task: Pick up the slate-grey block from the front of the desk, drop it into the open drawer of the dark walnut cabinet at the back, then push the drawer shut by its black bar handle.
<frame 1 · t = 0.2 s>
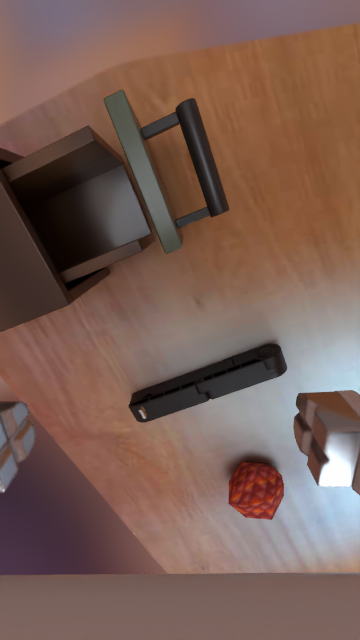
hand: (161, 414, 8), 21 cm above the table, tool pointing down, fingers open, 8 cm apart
black stapler: (204, 375, 32), on the table
cabinet: (27, 251, 27), on the table
decorative stone: (250, 469, 37), on the table
drawer: (109, 206, 21), point 5 cm above the table, slide at 7.0 cm
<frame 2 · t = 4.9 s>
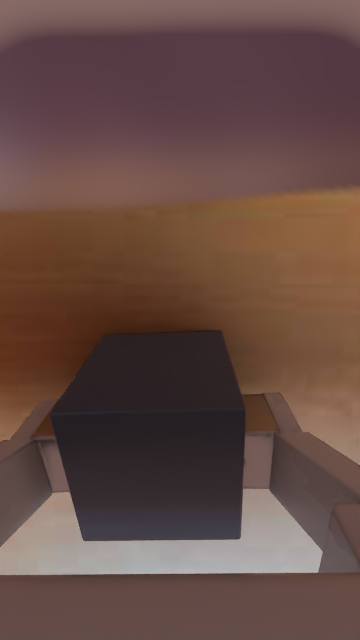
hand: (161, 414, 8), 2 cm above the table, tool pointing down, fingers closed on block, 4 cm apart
block: (166, 382, 10), on the table, touching gripper
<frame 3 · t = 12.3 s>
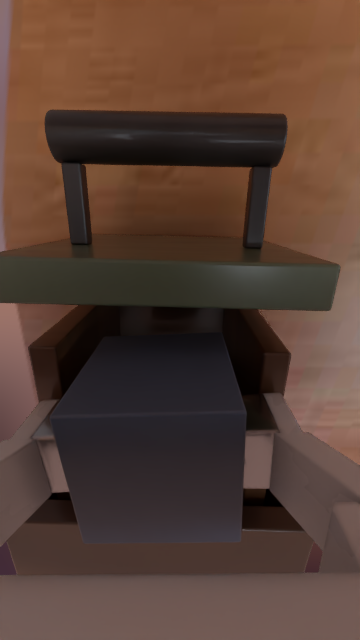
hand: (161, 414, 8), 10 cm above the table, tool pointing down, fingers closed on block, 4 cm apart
cabinet: (171, 438, 21), on the table
block: (166, 384, 10), point 8 cm above the table, touching gripper
drawer: (167, 343, 12), point 5 cm above the table, slide at 6.9 cm
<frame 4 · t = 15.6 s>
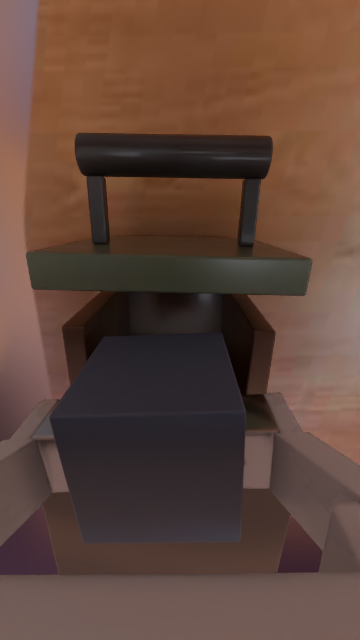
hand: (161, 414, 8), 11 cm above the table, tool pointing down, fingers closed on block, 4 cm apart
cabinet: (174, 422, 23), on the table
block: (166, 384, 10), point 10 cm above the table, touching gripper
drawer: (173, 329, 14), point 5 cm above the table, slide at 6.8 cm
when the fingers open (13 cm above the table, at t = 26.6 s): block drops 9 cm, resting on drawer.
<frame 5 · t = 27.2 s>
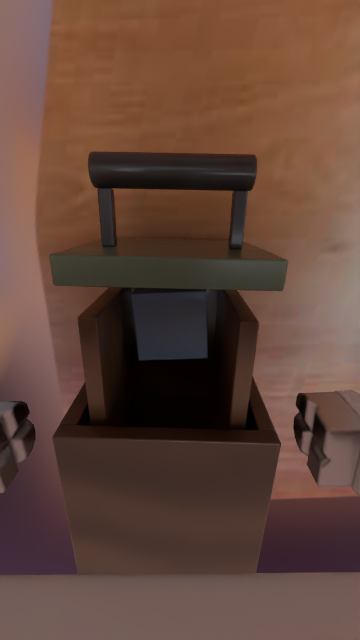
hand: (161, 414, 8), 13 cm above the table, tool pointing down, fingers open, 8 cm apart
cabinet: (173, 408, 24), on the table
block: (173, 305, 19), point 2 cm above the table, touching drawer
drawer: (172, 322, 16), point 5 cm above the table, slide at 6.5 cm, touching block
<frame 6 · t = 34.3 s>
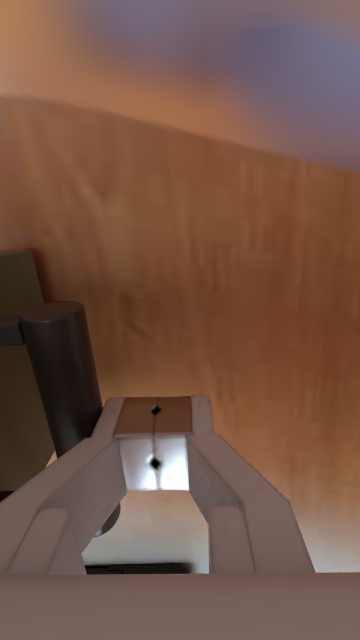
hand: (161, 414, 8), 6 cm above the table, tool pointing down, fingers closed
black stapler: (77, 572, 21), on the table
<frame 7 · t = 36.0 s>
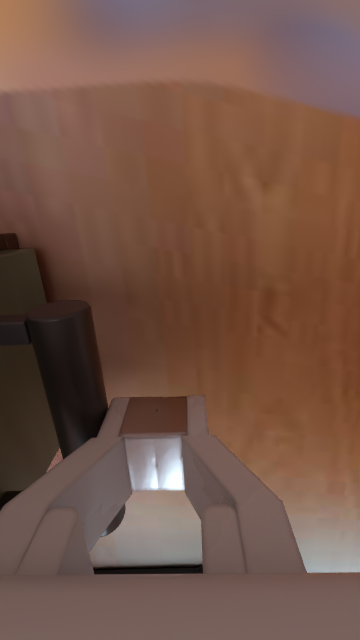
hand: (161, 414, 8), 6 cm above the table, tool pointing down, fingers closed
black stapler: (164, 572, 21), on the table
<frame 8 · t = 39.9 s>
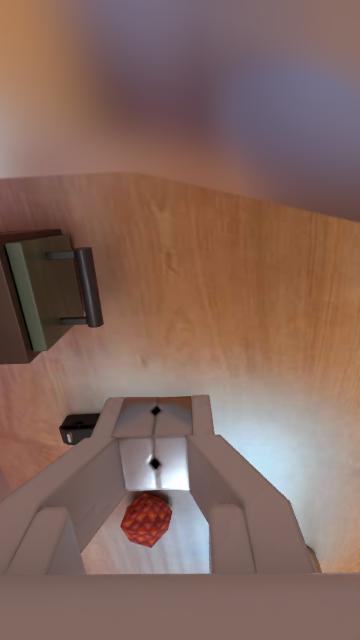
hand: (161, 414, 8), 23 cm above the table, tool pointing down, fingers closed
black stapler: (132, 417, 37), on the table
cabinet: (9, 278, 31), on the table
decorative stone: (149, 499, 43), on the table
drawer: (14, 289, 25), point 5 cm above the table, slide at 0.0 cm, touching block, cabinet
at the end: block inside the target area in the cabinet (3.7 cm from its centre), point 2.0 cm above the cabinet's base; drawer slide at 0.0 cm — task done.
